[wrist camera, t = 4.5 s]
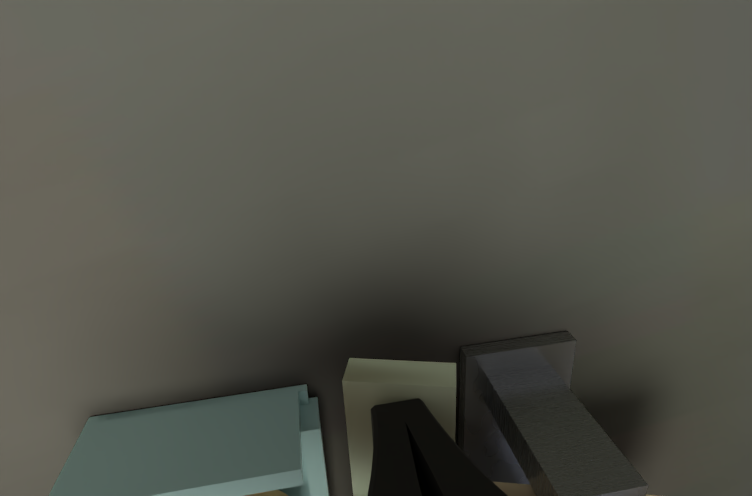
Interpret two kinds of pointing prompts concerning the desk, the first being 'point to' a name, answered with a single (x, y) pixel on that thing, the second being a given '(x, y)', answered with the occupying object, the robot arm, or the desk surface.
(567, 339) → the stand
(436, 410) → the beige tray
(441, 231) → the desk surface
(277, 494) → the ball
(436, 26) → the desk surface
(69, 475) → the dish
